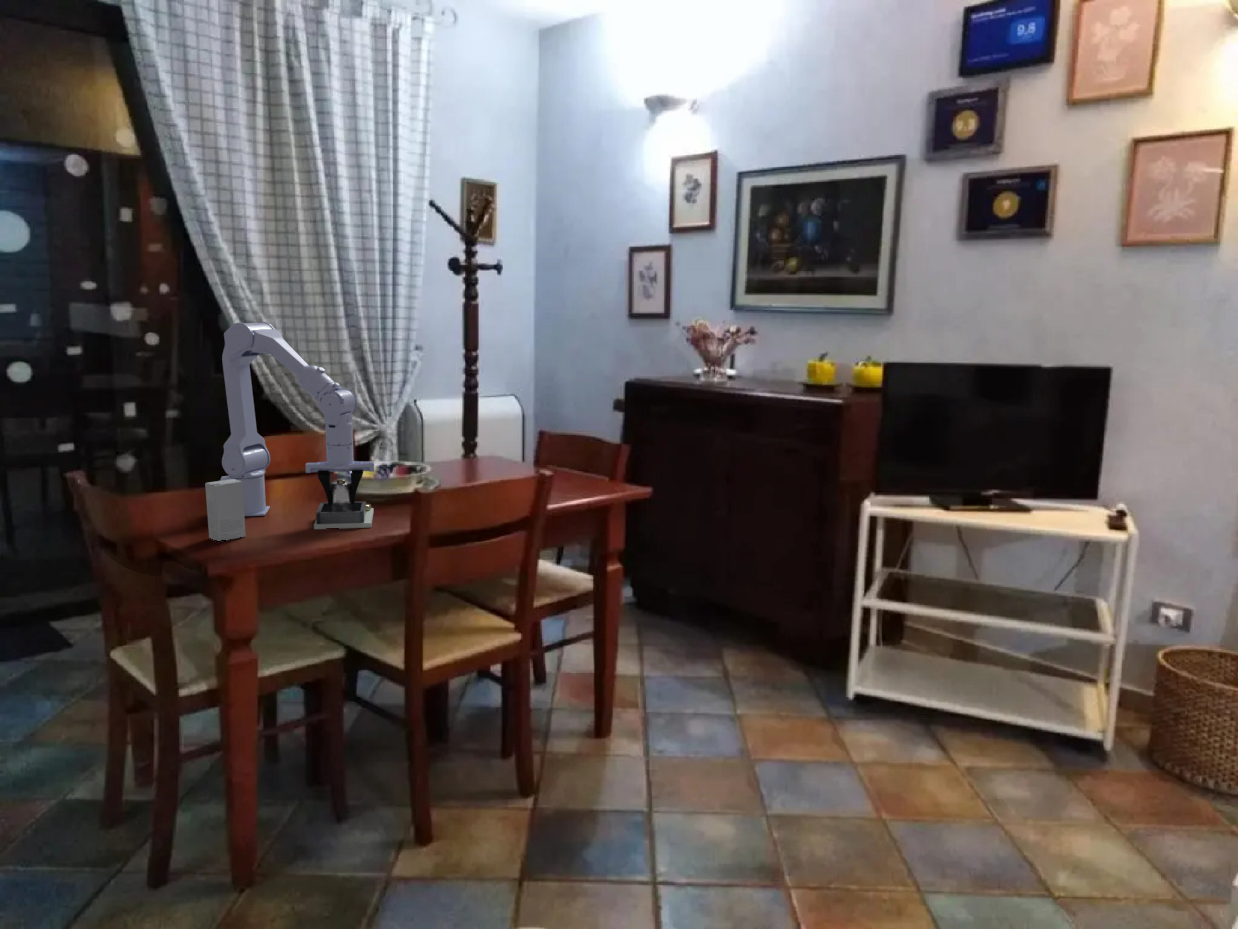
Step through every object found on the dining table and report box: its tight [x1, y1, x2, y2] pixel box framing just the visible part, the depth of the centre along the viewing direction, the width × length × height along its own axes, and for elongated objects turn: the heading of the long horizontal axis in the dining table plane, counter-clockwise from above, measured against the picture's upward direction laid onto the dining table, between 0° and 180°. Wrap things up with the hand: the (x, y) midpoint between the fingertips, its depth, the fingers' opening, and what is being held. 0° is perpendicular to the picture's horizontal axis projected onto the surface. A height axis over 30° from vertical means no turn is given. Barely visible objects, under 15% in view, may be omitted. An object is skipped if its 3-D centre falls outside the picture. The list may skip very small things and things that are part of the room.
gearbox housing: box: [313, 501, 374, 530], centre depth 196 cm, size 12×14×4 cm
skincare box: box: [204, 479, 247, 542], centre depth 179 cm, size 6×4×12 cm
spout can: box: [331, 478, 352, 512], centre depth 195 cm, size 4×6×8 cm
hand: (341, 503), depth 194 cm, fingers closed on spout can, 4 cm apart
